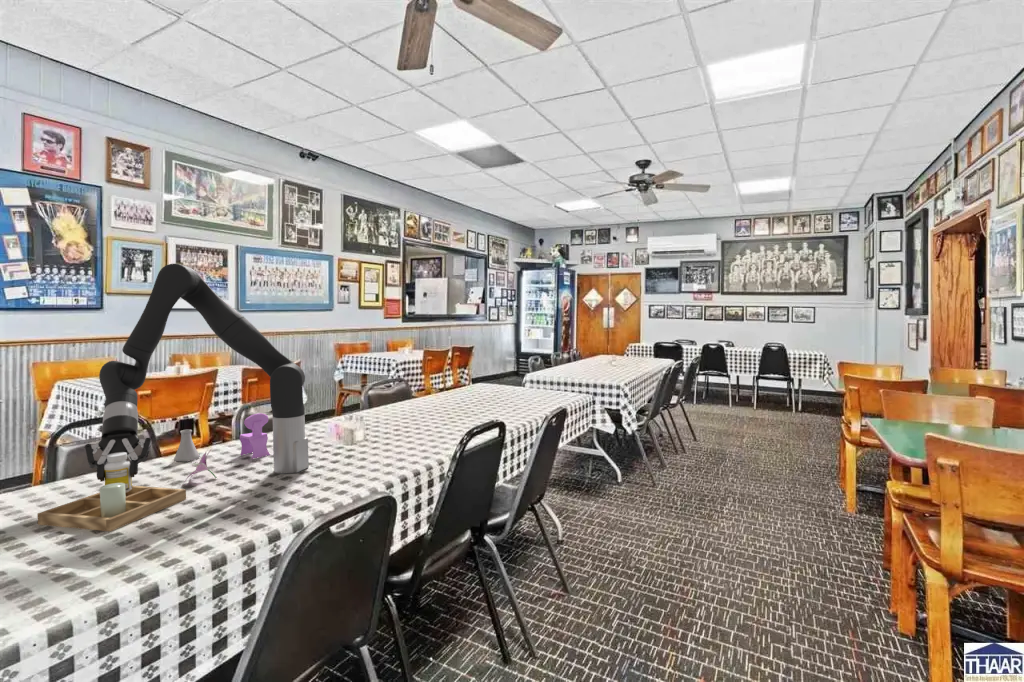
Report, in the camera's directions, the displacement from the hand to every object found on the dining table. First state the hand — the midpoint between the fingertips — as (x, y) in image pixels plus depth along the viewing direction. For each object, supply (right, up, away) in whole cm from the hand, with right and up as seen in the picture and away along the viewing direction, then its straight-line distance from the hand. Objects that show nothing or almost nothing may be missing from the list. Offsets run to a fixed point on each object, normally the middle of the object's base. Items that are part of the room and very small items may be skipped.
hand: (117, 477), depth 125 cm
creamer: (+7, -7, -9) cm, 14 cm away
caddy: (+3, -8, -4) cm, 9 cm away
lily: (+7, -7, +22) cm, 24 cm away
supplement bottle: (-1, -4, +2) cm, 5 cm away
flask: (-11, -6, +44) cm, 45 cm away
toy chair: (+9, -6, +49) cm, 50 cm away
